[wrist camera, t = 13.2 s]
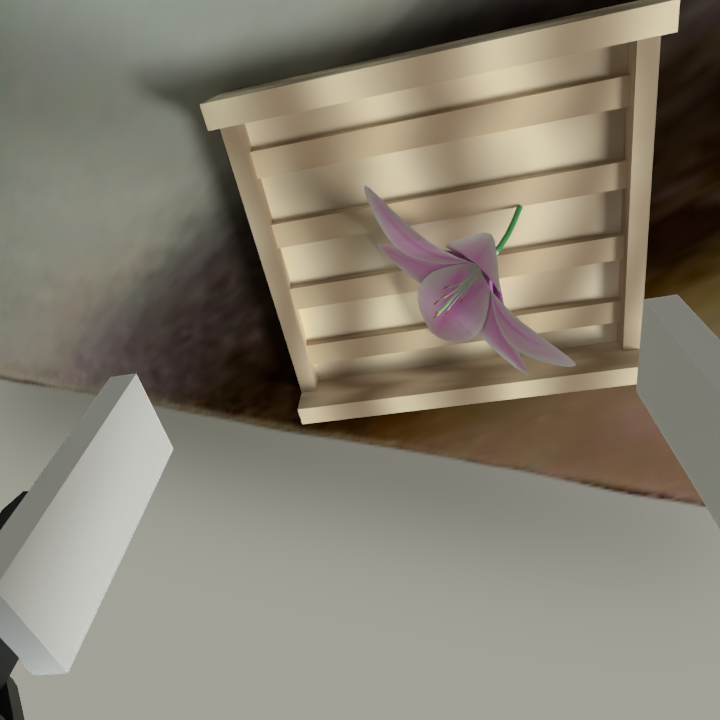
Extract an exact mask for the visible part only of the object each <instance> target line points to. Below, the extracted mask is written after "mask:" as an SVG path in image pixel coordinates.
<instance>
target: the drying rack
mask: <svg viewBox="0 0 720 720" xmlns="http://www.w3.org/2000/svg"><path fill="white" fill-rule="evenodd" d="M679 8H680V0H637V1H633V2H628V3H624V4H619V5H615V6H610V7H606V8H601V9H597V10H592V11H588V12H583V13H579V14H574V15H570V16H565V17H561V18H556V19H552V20H547V21H543V22H538V23H534V24H529V25H525V26H520V27H516V28H511V29H507V30H502V31H498V32H493V33H489V34H484V35H480V36H475V37H471V38H466V39H462V40H457V41H453V42H448V43H444V44H439V45H435V46H430V47H426V48H421V49H417V50H412V51H408V52H403V53H399V54H394V55H390V56H385V57H381V58H376V59H372V60H367V61H363V62H358V63H354V64H349V65H345V66H340V67H336V68H331V69H327V70H322V71H318V72H313V73H309V74H304V75H300V76H295V77H291V78H286V79H282V80H277V81H273V82H268V83H264V84H259V85H255V86H250V87H246V88H241V89H237V90H232V91H228V92H223V93H221V94H219V95H217V96H215V97H213V98H211V99H209V100H207V101H205V102H203V103H201V104H200V108H201V111H202V114H203V117H204V120H205V123H206V126H207V129H208V131H212V130H217V129H220V131H221V134H222V137H223V141H224V144H225V147H226V150H227V153H228V157H229V160H230V163H231V166H232V170H233V173H234V176H235V179H236V182H237V186H238V189H239V192H240V195H241V198H242V202H243V205H244V208H245V211H246V215H247V218H248V221H249V224H250V227H251V231H252V234H253V237H254V240H255V243H256V247H257V250H258V253H259V256H260V260H261V263H262V266H263V269H264V272H265V276H266V279H267V282H268V285H269V289H270V292H271V295H272V298H273V301H274V305H275V308H276V311H277V314H278V317H279V321H280V324H281V327H282V330H283V334H284V337H285V340H286V343H287V346H288V350H289V353H290V356H291V359H292V362H293V366H294V369H295V372H296V375H297V379H298V382H299V385H300V388H301V391H302V394H301V398H300V402H299V406H298V412H299V415H300V418H301V422H302V424H309V423H317V422H326V421H334V420H342V419H351V418H359V417H367V416H376V415H384V414H392V413H400V412H409V411H417V410H425V409H434V408H442V407H450V406H459V405H467V404H475V403H483V402H492V401H500V400H508V399H517V398H525V397H533V396H542V395H550V394H558V393H567V392H575V391H583V390H591V389H600V388H608V387H616V386H625V385H633V384H637V375H638V363H639V350H640V337H641V325H642V312H643V300H644V288H645V273H646V258H647V242H648V227H649V211H650V196H651V180H652V165H653V149H654V134H655V118H656V103H657V88H658V72H659V57H660V41H661V35H666V34H670V33H675V32H678V21H679ZM364 186H367V187H368V188H370V189H371V190H372V191H373V192H374V193H375V194H377V195H378V196H379V197H380V198H381V199H382V200H383V201H384V202H385V203H386V204H387V205H388V206H389V207H390V208H391V209H392V210H393V211H394V212H395V213H396V214H397V215H398V216H399V217H400V218H401V219H402V220H403V221H404V222H406V223H407V224H408V225H409V226H410V227H411V228H412V229H413V230H415V231H416V232H417V233H419V234H420V235H421V236H422V237H424V238H425V239H426V240H428V241H429V242H431V243H432V244H434V245H436V246H437V247H439V248H440V249H442V250H448V251H453V250H450V249H448V248H446V247H445V246H446V245H447V244H449V243H451V242H453V241H455V240H458V239H461V238H463V237H467V236H470V235H474V234H478V233H484V232H485V233H490V234H492V236H493V238H494V240H495V246H497V245H498V244H499V242H500V241H501V239H502V238H503V236H504V234H505V233H506V231H507V229H508V227H509V224H510V222H511V220H512V218H513V215H514V213H515V211H516V208H517V206H518V205H521V206H522V207H523V208H522V210H521V213H520V215H519V218H518V220H517V222H516V225H515V227H514V229H513V231H512V233H511V235H510V237H509V239H508V240H507V242H506V244H505V245H504V247H503V248H502V249H501V251H500V252H499V254H498V255H497V263H498V274H499V283H500V288H501V293H502V297H503V302H504V306H505V307H506V308H507V309H509V310H510V311H511V312H512V313H513V314H514V315H515V316H516V317H517V318H518V319H519V320H520V321H522V322H523V323H524V324H525V325H527V326H528V327H529V328H531V329H532V330H533V331H534V332H536V333H537V334H538V335H540V336H541V337H542V338H544V339H545V340H547V341H548V342H549V343H551V344H552V345H553V346H555V347H556V348H558V349H559V350H560V351H561V352H563V353H564V354H565V355H567V356H568V357H569V358H571V359H572V361H573V362H574V363H575V364H576V365H575V366H573V367H565V366H558V365H553V364H549V363H545V362H542V361H539V360H535V359H532V358H529V357H527V356H525V355H523V354H521V353H520V356H521V358H522V360H523V362H524V364H525V366H526V369H527V371H528V373H529V375H527V374H525V373H523V372H521V371H520V370H518V369H517V368H515V367H514V366H513V365H511V364H510V363H509V362H508V361H507V360H505V359H504V358H503V357H502V356H501V355H499V354H498V353H497V352H496V351H495V350H494V349H493V348H492V347H491V346H490V345H489V344H488V343H487V342H486V341H485V340H484V339H483V338H482V337H481V336H480V334H479V333H478V334H477V335H476V336H475V337H474V338H472V339H470V340H468V341H462V342H452V341H447V340H443V339H441V338H438V337H437V336H436V335H434V334H433V333H432V332H431V331H430V329H429V328H428V326H427V325H426V323H425V321H424V319H423V317H422V314H421V312H420V309H419V304H418V298H417V297H418V290H419V287H420V285H421V284H420V283H419V282H417V281H416V280H415V279H413V278H412V277H410V276H409V275H408V274H406V273H405V272H404V271H403V270H401V269H400V268H399V267H398V266H397V265H396V264H395V263H393V262H392V261H391V260H390V259H389V258H388V257H387V256H386V255H385V254H384V253H383V252H382V250H381V249H380V248H379V246H378V245H377V244H378V243H380V244H387V245H393V244H392V243H391V241H390V240H389V239H388V237H387V236H386V235H385V233H384V232H383V230H382V228H381V227H380V225H379V223H378V221H377V220H376V218H375V216H374V214H373V211H372V209H371V207H370V205H369V203H368V200H367V197H366V194H365V191H364ZM393 246H394V245H393Z"/></svg>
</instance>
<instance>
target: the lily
mask: <svg viewBox="0 0 720 720" xmlns="http://www.w3.org/2000/svg"><path fill="white" fill-rule="evenodd" d="M364 191H365V194H366V197H367V200H368V203H369V205H370V207H371V209H372V211H373V214H374V216H375V218H376V220H377V221H378V223H379V225H380V227H381V228H382V230H383V232H384V233H385V235H386V236H387V237H388V239H389V240H390V241H391V243H392V244H393V245H394V246H393V245H387V244H380V243H378V244H377V245H378V246H379V248H380V249H381V250H382V252H383V253H384V254H385V255H386V256H387V257H388V258H389V259H390V260H391V261H392V262H393V263H395V264H396V265H397V266H398V267H399V268H400V269H401V270H403V271H404V272H405V273H406V274H408V275H409V276H410V277H412V278H413V279H415V280H416V281H417V282H419V283H420V284H421V285H420V287H419V290H418V297H417V298H418V304H419V309H420V312H421V314H422V317H423V319H424V321H425V323H426V325H427V326H428V328H429V329H430V331H431V332H432V333H433V334H434V335H436V336H437V337H438V338H441V339H443V340H447V341H452V342H462V341H468V340H470V339H472V338H474V337H475V336H476V335H477V334H478V333H479V334H480V336H481V337H482V338H483V339H484V340H485V341H486V342H487V343H488V344H489V345H490V346H491V347H492V348H493V349H494V350H495V351H496V352H497V353H498V354H499V355H501V356H502V357H503V358H504V359H505V360H507V361H508V362H509V363H510V364H511V365H513V366H514V367H515V368H517V369H518V370H520V371H521V372H523V373H525V374H527V375H529V373H528V371H527V369H526V366H525V364H524V362H523V360H522V358H521V356H520V353H521V354H523V355H525V356H527V357H529V358H532V359H535V360H539V361H542V362H545V363H549V364H553V365H558V366H565V367H573V366H575V365H576V364H575V363H574V362H573V361H572V359H571V358H569V357H568V356H567V355H565V354H564V353H563V352H561V351H560V350H559V349H558V348H556V347H555V346H553V345H552V344H551V343H549V342H548V341H547V340H545V339H544V338H542V337H541V336H540V335H538V334H537V333H536V332H534V331H533V330H532V329H531V328H529V327H528V326H527V325H525V324H524V323H523V322H522V321H520V320H519V319H518V318H517V317H516V316H515V315H514V314H513V313H512V312H511V311H510V310H509V309H507V308H506V307H505V306H504V302H503V297H502V293H501V288H500V283H499V274H498V263H497V255H498V254H499V252H500V251H501V249H502V248H503V247H504V245H505V244H506V242H507V240H508V239H509V237H510V235H511V233H512V231H513V229H514V227H515V225H516V222H517V220H518V218H519V215H520V213H521V210H522V208H523V207H522V206H521V205H518V206H517V208H516V211H515V213H514V215H513V218H512V220H511V222H510V224H509V227H508V229H507V231H506V233H505V234H504V236H503V238H502V239H501V241H500V242H499V244H498V245H497V246H495V240H494V238H493V236H492V234H490V233H485V232H484V233H478V234H474V235H470V236H467V237H463V238H461V239H458V240H455V241H453V242H451V243H449V244H447V245H446V246H445V247H446V248H448V249H450V250H453V251H448V250H442V249H440V248H439V247H437V246H436V245H434V244H432V243H431V242H429V241H428V240H426V239H425V238H424V237H422V236H421V235H420V234H419V233H417V232H416V231H415V230H413V229H412V228H411V227H410V226H409V225H408V224H407V223H406V222H404V221H403V220H402V219H401V218H400V217H399V216H398V215H397V214H396V213H395V212H394V211H393V210H392V209H391V208H390V207H389V206H388V205H387V204H386V203H385V202H384V201H383V200H382V199H381V198H380V197H379V196H378V195H377V194H375V193H374V192H373V191H372V190H371V189H370V188H368V187H367V186H364Z"/></svg>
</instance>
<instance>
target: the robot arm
mask: <svg viewBox="0 0 720 720" xmlns="http://www.w3.org/2000/svg"><path fill="white" fill-rule="evenodd" d="M636 392H637V394H638V395H639V397H640V398H641V400H642V402H643V403H644V405H645V407H646V408H647V410H648V412H649V413H650V415H651V417H652V418H653V420H654V421H655V423H656V425H657V426H658V428H659V430H660V431H661V433H662V435H663V436H664V438H665V440H666V441H667V443H668V444H669V446H670V448H671V449H672V451H673V453H674V454H675V456H676V458H677V459H678V461H679V463H680V464H681V466H682V467H683V469H684V471H685V472H686V474H687V476H688V477H689V479H690V481H691V482H692V484H693V486H694V487H695V489H696V490H697V492H698V494H699V495H700V497H701V499H702V500H703V502H704V504H705V505H706V507H707V509H708V510H709V512H710V513H711V515H712V517H713V518H714V520H715V522H716V523H717V525H718V527H719V528H720V340H719V339H718V337H717V336H716V335H715V334H714V333H713V332H712V331H711V330H710V329H709V328H708V327H707V326H706V325H705V324H704V322H703V321H702V320H701V319H700V318H699V317H698V316H697V315H696V314H695V313H694V312H693V311H692V310H691V309H690V308H689V306H688V305H687V304H686V303H685V302H684V301H683V300H682V299H681V298H680V297H679V296H678V295H671V296H664V297H657V298H651V299H644V300H643V312H642V325H641V337H640V350H639V363H638V375H637V388H636ZM172 451H173V447H172V445H171V443H170V441H169V439H168V437H167V435H166V433H165V431H164V429H163V427H162V425H161V423H160V421H159V419H158V417H157V415H156V412H155V410H154V408H153V406H152V404H151V402H150V400H149V398H148V396H147V394H146V392H145V390H144V388H143V386H142V384H141V382H140V380H139V378H138V376H137V374H129V375H122V376H116V377H110V379H109V380H108V381H107V383H106V384H105V385H104V387H103V388H102V390H101V391H100V392H99V394H98V395H97V397H96V398H95V400H94V401H93V402H92V404H91V405H90V406H89V408H88V409H87V411H86V412H85V413H84V415H83V416H82V417H81V419H80V420H79V422H78V423H77V424H76V426H75V427H74V429H73V430H72V432H71V433H70V434H69V436H68V437H67V438H66V440H65V441H64V443H63V444H62V445H61V447H60V448H59V449H58V451H57V452H56V454H55V455H54V456H53V458H52V459H51V461H50V462H49V463H48V465H47V466H46V468H45V469H44V470H43V472H42V473H41V475H40V476H39V477H38V479H37V480H36V481H35V483H34V484H33V486H32V487H31V489H30V490H29V491H24V492H22V493H21V494H20V495H19V496H18V497H17V498H15V499H14V500H13V501H12V502H11V503H10V504H9V505H7V506H6V507H5V508H4V509H3V510H2V511H1V513H0V720H24V716H23V711H22V706H21V702H20V697H19V693H18V688H17V685H16V684H15V682H14V680H13V679H12V678H11V677H10V676H9V675H10V674H11V672H12V670H13V668H14V666H15V665H16V662H17V661H18V659H19V660H20V662H21V663H23V665H24V666H25V667H26V668H27V669H28V670H29V671H30V672H31V673H32V674H33V675H47V674H64V673H68V672H69V670H70V668H71V665H72V663H73V661H74V659H75V657H76V655H77V653H78V650H79V648H80V646H81V644H82V642H83V640H84V638H85V636H86V634H87V631H88V629H89V627H90V625H91V623H92V621H93V619H94V616H95V614H96V612H97V610H98V608H99V606H100V604H101V602H102V600H103V597H104V595H105V593H106V591H107V589H108V587H109V585H110V583H111V580H112V578H113V576H114V574H115V572H116V570H117V568H118V566H119V563H120V561H121V559H122V557H123V555H124V553H125V550H126V548H127V546H128V544H129V542H130V540H131V538H132V536H133V534H134V531H135V529H136V527H137V525H138V523H139V521H140V519H141V517H142V514H143V512H144V510H145V508H146V506H147V504H148V502H149V500H150V497H151V495H152V493H153V491H154V489H155V487H156V485H157V483H158V480H159V478H160V476H161V474H162V472H163V470H164V468H165V466H166V463H167V461H168V459H169V457H170V455H171V453H172Z"/></svg>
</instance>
